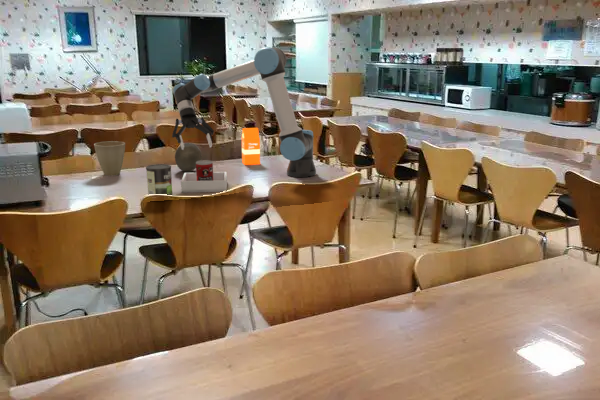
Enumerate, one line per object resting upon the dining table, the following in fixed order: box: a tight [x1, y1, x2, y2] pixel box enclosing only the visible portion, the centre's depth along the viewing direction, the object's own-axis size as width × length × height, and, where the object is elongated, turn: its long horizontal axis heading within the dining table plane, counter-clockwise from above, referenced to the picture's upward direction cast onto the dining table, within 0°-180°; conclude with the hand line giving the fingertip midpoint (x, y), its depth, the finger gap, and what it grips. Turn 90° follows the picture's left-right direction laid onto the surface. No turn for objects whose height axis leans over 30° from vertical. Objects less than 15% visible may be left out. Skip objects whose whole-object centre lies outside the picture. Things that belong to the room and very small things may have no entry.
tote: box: [180, 171, 228, 193], centre depth 248 cm, size 20×18×5 cm
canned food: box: [195, 159, 214, 181], centre depth 247 cm, size 8×8×11 cm
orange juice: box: [241, 127, 261, 166], centre depth 298 cm, size 8×9×20 cm
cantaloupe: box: [174, 142, 202, 173], centre depth 278 cm, size 14×14×15 cm
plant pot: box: [93, 140, 126, 177], centre depth 271 cm, size 15×15×16 cm
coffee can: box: [145, 163, 173, 195], centre depth 228 cm, size 10×10×14 cm
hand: (197, 147), depth 253 cm, fingers open, 13 cm apart
